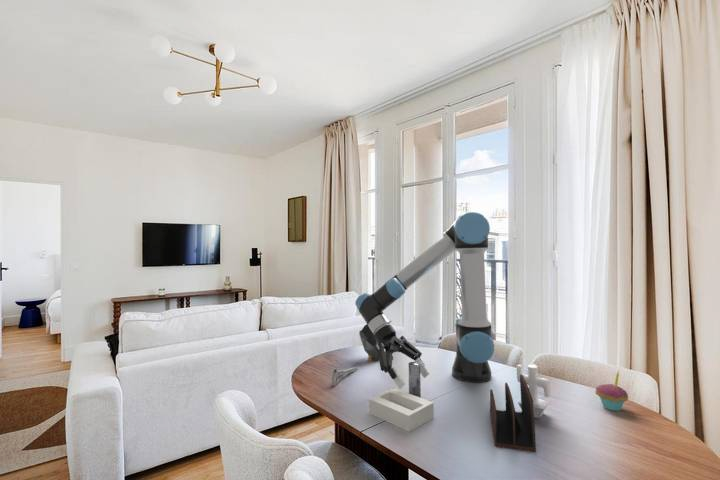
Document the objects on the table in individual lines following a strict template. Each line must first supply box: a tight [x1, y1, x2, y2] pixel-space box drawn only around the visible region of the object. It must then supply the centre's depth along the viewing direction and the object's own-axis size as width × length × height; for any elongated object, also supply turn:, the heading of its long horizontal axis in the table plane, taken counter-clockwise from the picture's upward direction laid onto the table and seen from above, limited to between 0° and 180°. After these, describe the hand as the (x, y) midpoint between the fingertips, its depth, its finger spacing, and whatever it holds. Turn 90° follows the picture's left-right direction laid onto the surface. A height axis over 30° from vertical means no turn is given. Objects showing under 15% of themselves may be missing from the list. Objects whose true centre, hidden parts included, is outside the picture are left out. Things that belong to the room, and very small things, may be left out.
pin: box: [408, 361, 422, 398], centre depth 123 cm, size 4×4×12 cm
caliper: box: [331, 366, 358, 387], centre depth 144 cm, size 21×1×6 cm, turn 156°
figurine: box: [516, 363, 551, 420], centre depth 111 cm, size 7×9×15 cm
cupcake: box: [594, 370, 629, 412], centre depth 115 cm, size 9×8×12 cm
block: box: [368, 387, 435, 432], centre depth 111 cm, size 16×12×4 cm
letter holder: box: [489, 374, 537, 453], centre depth 102 cm, size 10×20×14 cm, turn 164°
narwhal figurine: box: [358, 320, 394, 362], centre depth 167 cm, size 14×15×18 cm
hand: (415, 381), depth 123 cm, fingers open, 13 cm apart
